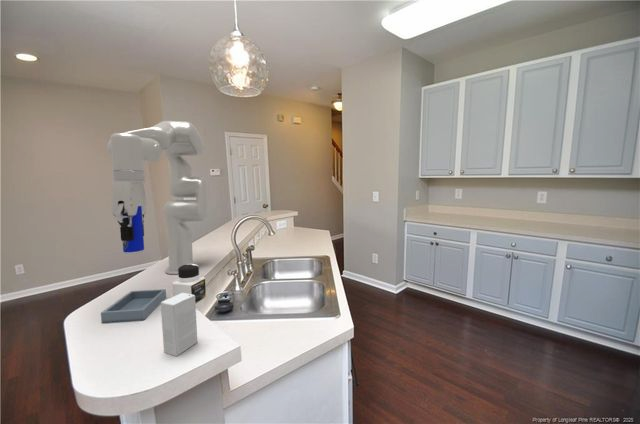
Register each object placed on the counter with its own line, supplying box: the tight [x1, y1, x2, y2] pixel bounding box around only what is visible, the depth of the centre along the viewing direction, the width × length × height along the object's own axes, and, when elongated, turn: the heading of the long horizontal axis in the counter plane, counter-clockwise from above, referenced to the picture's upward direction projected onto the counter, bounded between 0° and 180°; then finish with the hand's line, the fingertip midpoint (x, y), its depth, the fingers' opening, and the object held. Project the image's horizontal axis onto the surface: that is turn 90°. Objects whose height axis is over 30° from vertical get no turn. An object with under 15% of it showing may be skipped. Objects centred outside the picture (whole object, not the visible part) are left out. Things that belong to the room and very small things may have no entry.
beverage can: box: [122, 204, 145, 255], centre depth 80 cm, size 5×5×15 cm
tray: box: [100, 288, 167, 324], centre depth 82 cm, size 16×11×3 cm
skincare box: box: [160, 293, 198, 357], centre depth 62 cm, size 6×4×12 cm
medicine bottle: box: [171, 263, 207, 305], centre depth 87 cm, size 7×7×12 cm
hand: (133, 237), depth 80 cm, fingers closed on beverage can, 5 cm apart
